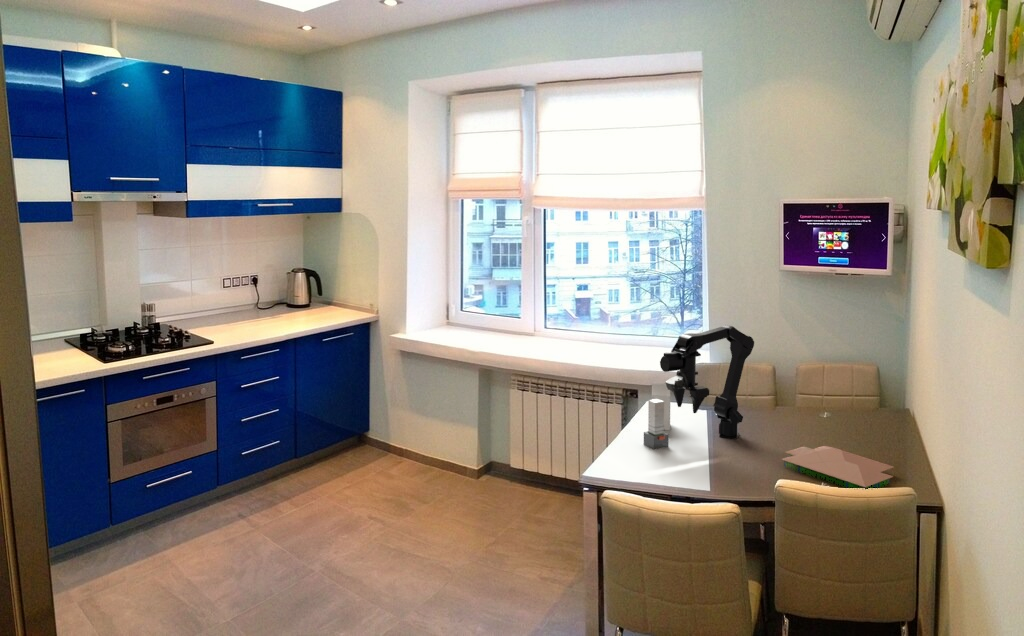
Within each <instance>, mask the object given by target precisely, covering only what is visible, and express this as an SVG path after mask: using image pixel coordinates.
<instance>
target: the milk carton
mask: <svg viewBox="0 0 1024 636" xmlns="http://www.w3.org/2000/svg"><path fill="white" fill-rule="evenodd" d="M653 399H659V400H662V401H664V431H665V430H666V431H670V430H671V390H668V389H667V387H666V382H651V400H653Z"/></svg>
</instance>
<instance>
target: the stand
mask: <svg viewBox="0 0 1024 636" xmlns="http://www.w3.org/2000/svg"><path fill="white" fill-rule="evenodd" d="M669 439H670V438H669V433H666V432H665V431H664V434H663V435H658V436H653V435H651V434H649V433H648V430H647V431H644V432H643V445H644V446H645V447H648V448H649V449H651V450H659V449H665V448H669V447H670V446H669Z"/></svg>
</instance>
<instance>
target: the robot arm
mask: <svg viewBox="0 0 1024 636" xmlns="http://www.w3.org/2000/svg"><path fill="white" fill-rule="evenodd" d="M724 339H725V340H726V341H728V342H729V343H730V344H729V345H730V346H729V349H730V354H731V359H730V363H729V367H728V371H727V376H726V379H725V383H724V387H723V391H722V393H721V394H720V395H719V396H718V395H716V396H715V397H714V399H715V400H714V403H713V405H712V406H713V411H714V413H715V414H716V417H717V419H720V422H719V423H718V434H719V437H720V438H726V439H736V440H737V439H738V437H739V436H740V432H739V424H740V423H742V422H743V419H744V416H743V415H742V414H741V413H740V412H739V411H738V410H739V408H738V407H739V403H738V398H737V394H738V390H739V386H740V382H741V378H742V375H743V370H744V367H745V363H746V359H747V358H748V357H749V356H750V355H751V354H752V351H753V349H754V347H755V340H754V338H753V337H752V336H750V335H746V334H745V333H743V332H741V331H740V330H738V329H737V328H736V327H735V326H733V325H728V324H725V325H722V326H720V327H716V328H713V329H709V330H705V331H702V332H699V333H692V332H691V333H682V334H680V335H679V336H678V338H677V340H676V342H675V344H674V346H673V347H672V349H671V351H670V352H663V356H662V357H660V358H661V359H660V361H659V365H660V369H661V370H662V371H663V372H664V373H667V372H668V373H669V372H675V371H677V372H676V375H675V376H672V377H670V378H668V379H667V380H665V383H666V387H667V389H668V390H670V392H671V393H672V394H673V395H674V398H675V401H676V405H677V407H678V408H682V405H683V401H684V396H685V392H686V391H689V398H690V399H691V400H692V411H693V412H692V413H693V414H697V413H698V410H699V408H700V407H701V404H702V403H703V401H704V400H705V398H707V397H708V396H710V389H709V388H708V387H707V386H703V385H700V386H699V383H698V382H697V381H696V379H697V378H696V375H699V371H697V370H696V369H697V368H696V367H697V365H696V364H697V363H696V361H697V357H700V356H702V355H701V353H700V352H699V351H698V350H700V349H702V348H703V346H705V345H707V344H710V343H713V342H717V341H721V340H724Z"/></svg>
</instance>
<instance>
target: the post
mask: <svg viewBox="0 0 1024 636" xmlns="http://www.w3.org/2000/svg"><path fill="white" fill-rule="evenodd" d="M647 404H648V419H647V420H648V423H647V424H648V425H647V427H648V428H647V431H648V433H649V434H651V435H653V436H658V435H663V434H664V432H665V430H664V401H662V400H659V399H653V400H652V399H648V403H647Z"/></svg>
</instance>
